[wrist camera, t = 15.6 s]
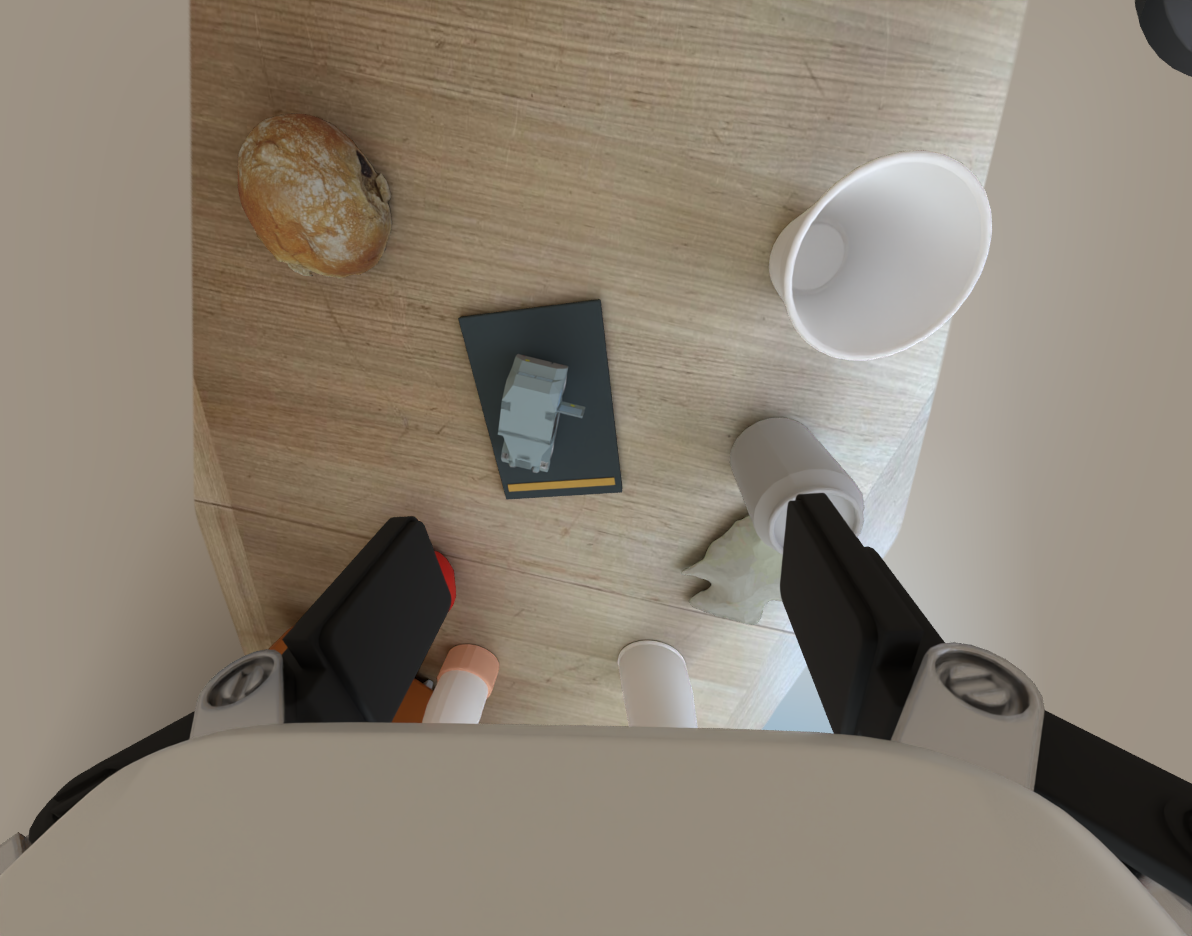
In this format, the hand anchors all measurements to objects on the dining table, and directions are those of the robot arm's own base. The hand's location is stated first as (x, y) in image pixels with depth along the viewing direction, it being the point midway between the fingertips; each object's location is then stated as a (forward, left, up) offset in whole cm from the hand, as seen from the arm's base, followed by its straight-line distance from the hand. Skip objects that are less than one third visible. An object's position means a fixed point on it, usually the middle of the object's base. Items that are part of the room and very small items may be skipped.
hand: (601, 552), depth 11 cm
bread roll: (+22, -12, -28) cm, 38 cm away
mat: (+8, +6, -28) cm, 30 cm away
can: (-12, +12, -28) cm, 33 cm away
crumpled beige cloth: (-10, +25, -28) cm, 39 cm away
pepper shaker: (+25, +41, -28) cm, 56 cm away
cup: (-14, -4, -28) cm, 32 cm away
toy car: (+8, +6, -28) cm, 29 cm away
